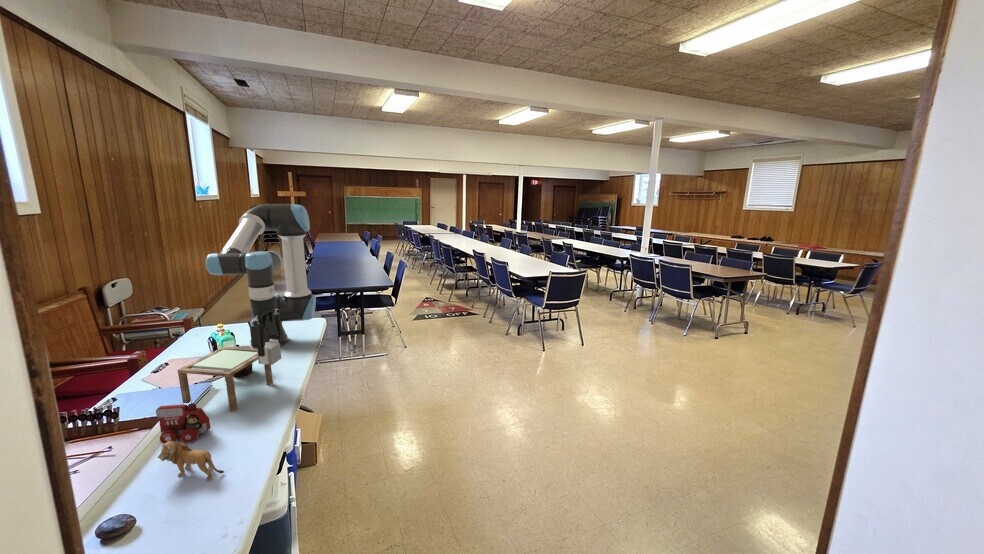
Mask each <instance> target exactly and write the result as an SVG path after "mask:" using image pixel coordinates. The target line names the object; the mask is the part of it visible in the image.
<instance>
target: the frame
mask: <svg viewBox="0 0 984 554" xmlns="http://www.w3.org/2000/svg"><path fill="white" fill-rule="evenodd" d="M237 347H238V346H235V347H234V346H222V347H220V348H218V349H216V350H214V351H213V352H210V353H208V354H207V355H206V354H205V355H204V356H202V357H200V358H198V359H197V360H194V361H191V363H188V364H186V365H184V366H182V367H181V368H179V369H177V374H178V380H179V386H180V393H181V397H182V398H181V400H182V404H183V403H189V402H190V401H191V402H192V397H191V392H190V386H189V384H190V383H189V380H188V374H190V375H191V374H192V375H200V376H201V375H202V376H203V375H204V376H215V377H224V382H225V385H226V393H227V399H228V400H227V401H228V406H229V412H231V413H232V412H233V413H234V412H236V411H238V410H239V408H238V400H237V396H236V394H237V393H236V387H235V377H233V374H235V373H237V372H238V371H240V370H242V369H243V368H245V367H247V366H248V365H250V364H252V365H253V363H255V362H257V361H258V354H257V355H256V356H254V357H252V358H251V359H249V360H247V361H245V362H244V363H242V364H240V365H239V366H237V367H235V368H234V369H232V370H230V371H221V370H209V369H197V368H193V365H194V364H196V363H198V362H200V361H202V360H204V359H206V358H208V357H210V356H212V355H214V354H216V353H218V352H220V351H222V350H235V351H248V352H257V349H255V348H253V349H250V348H237ZM263 366H264V374H265V376H264V377H265V384H266V386H271V385H272V384H274V381H273V374H272V365H268V364H263Z"/></svg>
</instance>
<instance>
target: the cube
mask: <svg viewBox="0 0 984 554" xmlns="http://www.w3.org/2000/svg"><path fill="white" fill-rule="evenodd" d="M265 346H267V350H268V359H269V364H268V365H271V366H273V365H274V364H276V363H277V362H278V361H280V360H281V359H282V351H281V346H280V343H272V342H266V343H265ZM257 353H258V348H257ZM257 361H258V364H259V365H261V364H260V357H259V355H258V360H257Z"/></svg>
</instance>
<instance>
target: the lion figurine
mask: <svg viewBox="0 0 984 554" xmlns="http://www.w3.org/2000/svg"><path fill="white" fill-rule="evenodd" d="M161 447H162V449H161V452H160V453H159V455H158V456H157V458H158V459H160V461H161V462H165V461H167V462H171V463H172V465H177V468H178V470H179V473H178V474H177V477H178V478H181V477H183V476H184V475H185V474H186V470H189V469H191V467H192V465H197V467H198V468H199V470H200V471H202V472H203V473H204V474H206V481H211V480H212V478H213V474H212V470H214V472H216V473H218V474H223V473H225V471H224V470H221V469H217V468H216V466H215V465H214V463H213V459H212V455H211V453H210V451H208V450H207V449H194V448H190V447H189V445H188V444H187V443H185V442H183V441H182V442H181V441H179V440H176V441H168V442H166V443H164V444H163V443H162V445H161ZM207 465H208V467H207Z"/></svg>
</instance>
